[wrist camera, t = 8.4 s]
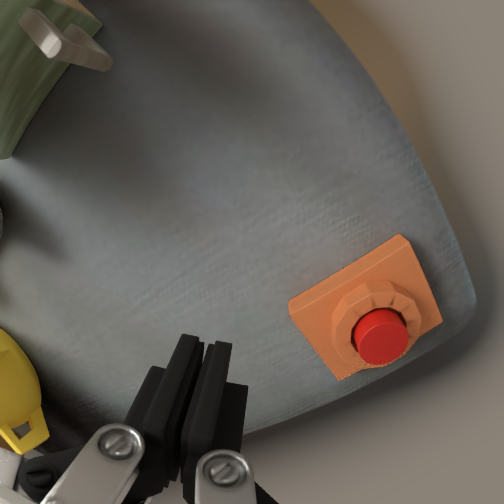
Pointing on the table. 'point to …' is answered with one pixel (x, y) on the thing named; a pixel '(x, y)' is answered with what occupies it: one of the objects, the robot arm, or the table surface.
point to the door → (39, 58)
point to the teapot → (19, 397)
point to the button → (380, 337)
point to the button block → (365, 304)
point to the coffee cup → (19, 433)
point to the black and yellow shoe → (1, 224)
